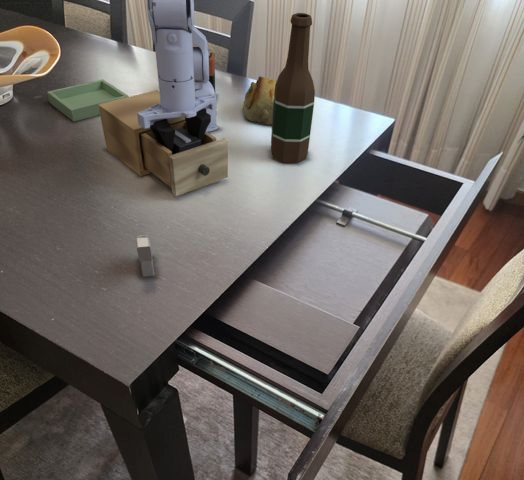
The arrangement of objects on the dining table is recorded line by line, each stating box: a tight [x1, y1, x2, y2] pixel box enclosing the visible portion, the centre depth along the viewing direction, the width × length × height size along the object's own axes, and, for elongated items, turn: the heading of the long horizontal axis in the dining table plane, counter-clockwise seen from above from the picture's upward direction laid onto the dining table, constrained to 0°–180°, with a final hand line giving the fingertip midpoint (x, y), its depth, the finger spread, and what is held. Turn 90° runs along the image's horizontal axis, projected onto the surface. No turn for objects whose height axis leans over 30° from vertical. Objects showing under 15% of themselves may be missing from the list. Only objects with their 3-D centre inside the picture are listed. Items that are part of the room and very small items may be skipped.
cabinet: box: [98, 89, 185, 177], centre depth 92 cm, size 13×13×9 cm
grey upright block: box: [135, 233, 155, 278], centre depth 68 cm, size 7×2×8 cm, turn 13°
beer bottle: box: [270, 12, 316, 164], centre depth 89 cm, size 8×8×24 cm
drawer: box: [139, 120, 229, 197], centre depth 87 cm, size 13×11×7 cm
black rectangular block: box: [173, 128, 201, 154], centre depth 87 cm, size 6×4×6 cm
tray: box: [46, 79, 130, 123], centre depth 108 cm, size 14×12×2 cm
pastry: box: [241, 75, 277, 126], centre depth 107 cm, size 14×12×8 cm
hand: (182, 158), depth 87 cm, fingers closed on drawer, 5 cm apart
